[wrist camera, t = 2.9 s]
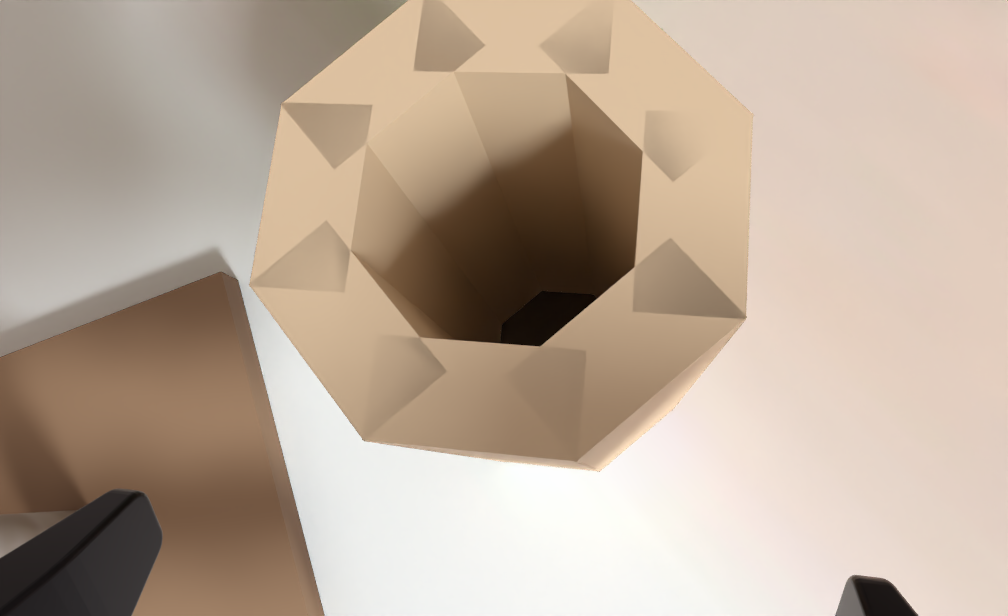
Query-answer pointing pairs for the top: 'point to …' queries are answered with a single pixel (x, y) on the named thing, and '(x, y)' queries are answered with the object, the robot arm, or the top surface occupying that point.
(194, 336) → the roll stand
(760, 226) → the top surface
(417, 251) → the paper roll
